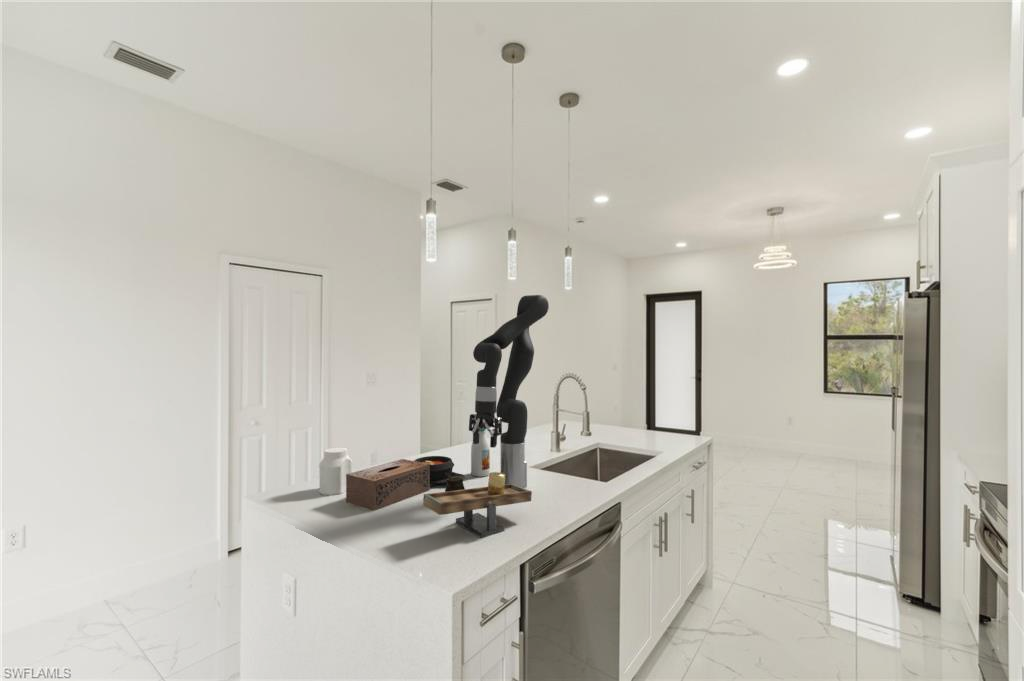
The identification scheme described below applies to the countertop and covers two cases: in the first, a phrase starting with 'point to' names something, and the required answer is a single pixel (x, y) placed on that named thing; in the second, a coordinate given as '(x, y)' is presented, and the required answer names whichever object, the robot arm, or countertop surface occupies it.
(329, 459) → the jar
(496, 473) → the cylinder
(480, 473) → the milk bottle
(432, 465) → the casserole
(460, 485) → the mate gourd
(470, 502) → the beam
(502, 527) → the pivot stand
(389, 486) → the tissue box cover
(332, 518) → the countertop surface
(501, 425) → the robot arm
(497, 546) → the countertop surface
